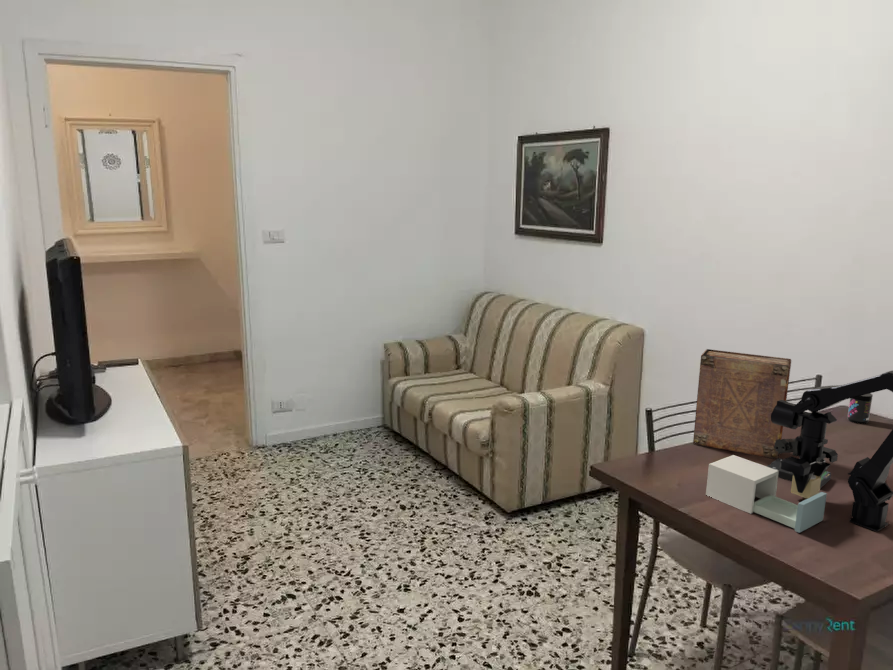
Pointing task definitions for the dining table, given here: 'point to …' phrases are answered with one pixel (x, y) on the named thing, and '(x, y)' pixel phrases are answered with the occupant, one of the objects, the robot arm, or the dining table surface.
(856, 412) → the supplement container
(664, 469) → the dining table surface
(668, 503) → the dining table surface
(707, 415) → the book
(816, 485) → the dome button cube
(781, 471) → the disk drive
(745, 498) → the panel
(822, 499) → the tray
